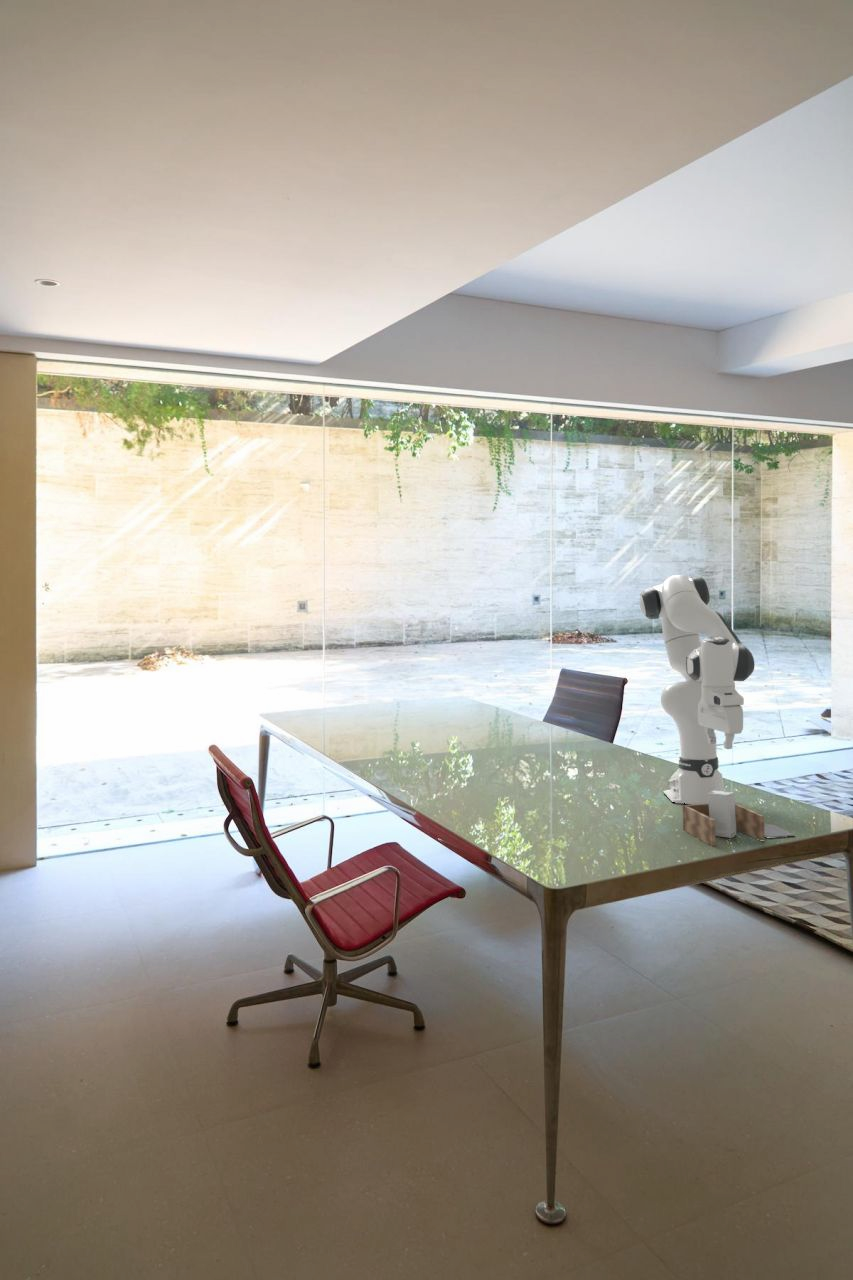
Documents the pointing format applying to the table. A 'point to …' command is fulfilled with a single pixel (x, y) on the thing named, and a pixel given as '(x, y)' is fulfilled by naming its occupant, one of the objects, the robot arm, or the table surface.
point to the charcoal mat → (775, 831)
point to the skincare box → (723, 813)
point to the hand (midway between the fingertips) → (720, 746)
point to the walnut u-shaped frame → (704, 826)
